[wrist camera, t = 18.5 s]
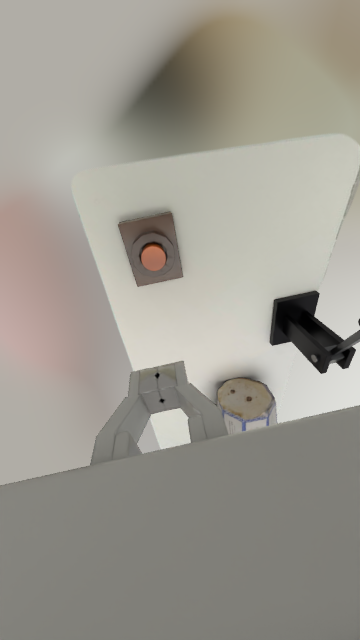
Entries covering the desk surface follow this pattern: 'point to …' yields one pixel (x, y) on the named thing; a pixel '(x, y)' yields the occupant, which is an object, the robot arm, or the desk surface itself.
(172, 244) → the button block
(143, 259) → the button
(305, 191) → the desk surface
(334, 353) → the lever
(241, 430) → the potted plant
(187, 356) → the desk surface
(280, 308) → the bracket
